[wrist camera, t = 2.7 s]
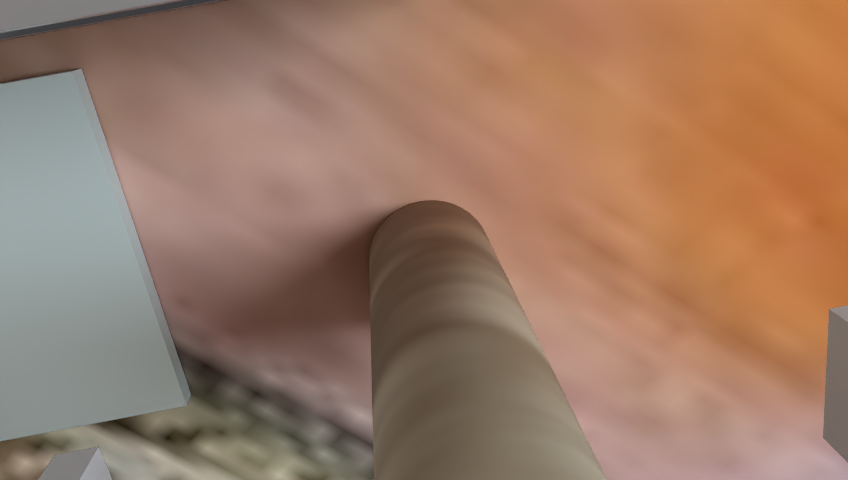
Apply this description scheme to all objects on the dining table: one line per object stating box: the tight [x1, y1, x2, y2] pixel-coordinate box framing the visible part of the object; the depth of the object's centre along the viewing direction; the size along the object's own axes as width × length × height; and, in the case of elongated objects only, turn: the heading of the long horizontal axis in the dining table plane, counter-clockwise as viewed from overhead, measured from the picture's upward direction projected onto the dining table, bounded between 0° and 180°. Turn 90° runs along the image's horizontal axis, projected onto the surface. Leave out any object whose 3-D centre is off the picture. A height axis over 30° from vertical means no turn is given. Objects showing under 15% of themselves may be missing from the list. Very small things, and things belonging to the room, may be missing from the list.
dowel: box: [369, 201, 607, 480], centre depth 13 cm, size 4×4×16 cm
